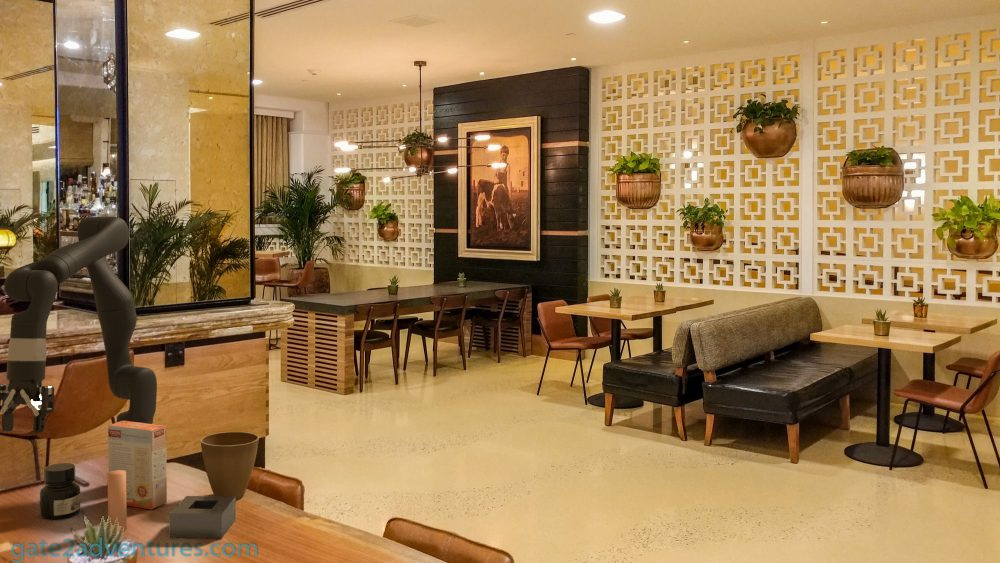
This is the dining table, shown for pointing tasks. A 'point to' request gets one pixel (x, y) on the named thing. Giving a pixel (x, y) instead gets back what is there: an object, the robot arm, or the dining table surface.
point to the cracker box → (140, 461)
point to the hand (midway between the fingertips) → (22, 431)
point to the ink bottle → (59, 492)
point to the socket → (203, 517)
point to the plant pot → (229, 461)
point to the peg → (117, 497)
